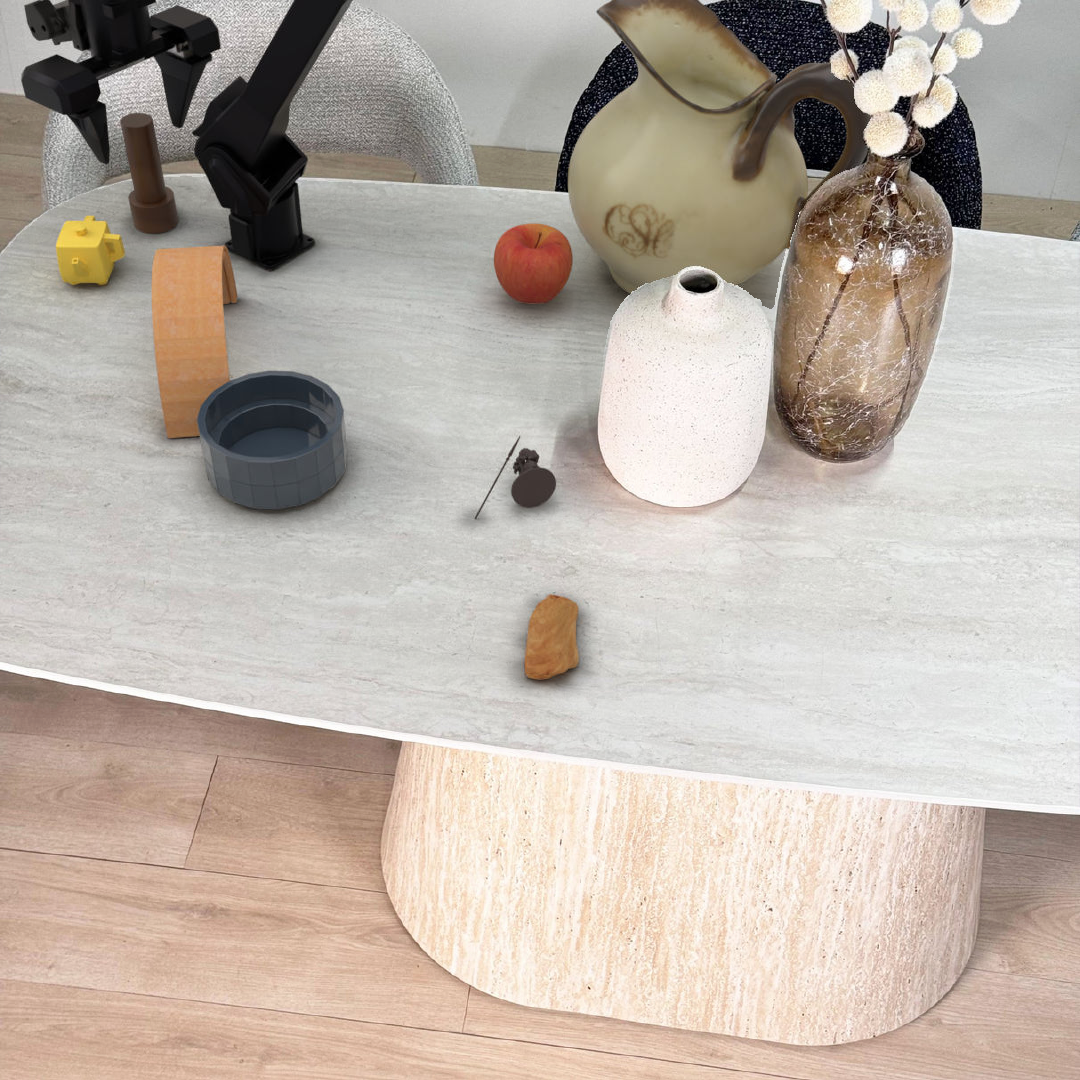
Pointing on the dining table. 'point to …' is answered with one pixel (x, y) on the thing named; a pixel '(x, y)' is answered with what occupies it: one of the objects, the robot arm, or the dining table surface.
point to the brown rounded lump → (551, 638)
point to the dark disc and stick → (528, 480)
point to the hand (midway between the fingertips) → (141, 144)
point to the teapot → (87, 251)
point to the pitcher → (697, 150)
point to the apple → (533, 262)
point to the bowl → (273, 439)
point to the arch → (190, 330)
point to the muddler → (147, 177)
